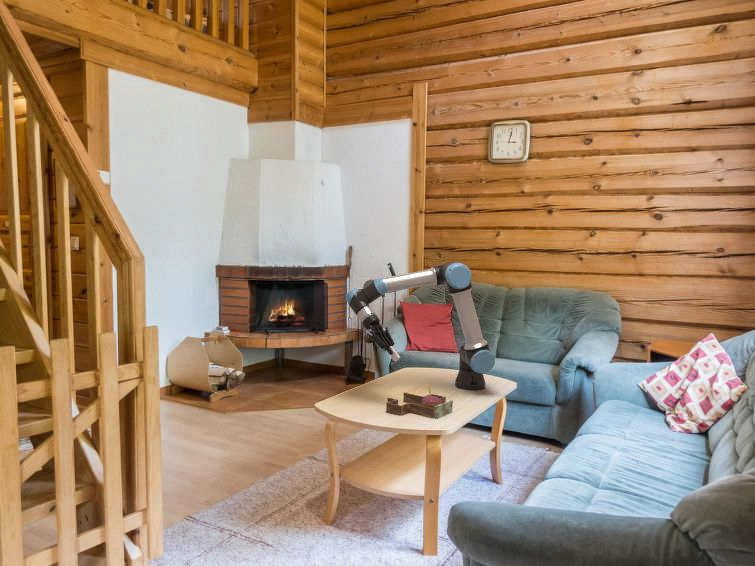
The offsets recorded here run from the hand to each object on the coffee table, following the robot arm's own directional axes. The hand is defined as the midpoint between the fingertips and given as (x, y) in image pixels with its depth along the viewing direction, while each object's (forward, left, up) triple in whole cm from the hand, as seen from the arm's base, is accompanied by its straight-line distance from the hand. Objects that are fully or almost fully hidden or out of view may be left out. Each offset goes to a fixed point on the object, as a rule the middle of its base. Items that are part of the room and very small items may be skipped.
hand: (397, 359), depth 263 cm
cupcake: (0, +19, -20) cm, 27 cm away
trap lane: (0, +12, -20) cm, 23 cm away
